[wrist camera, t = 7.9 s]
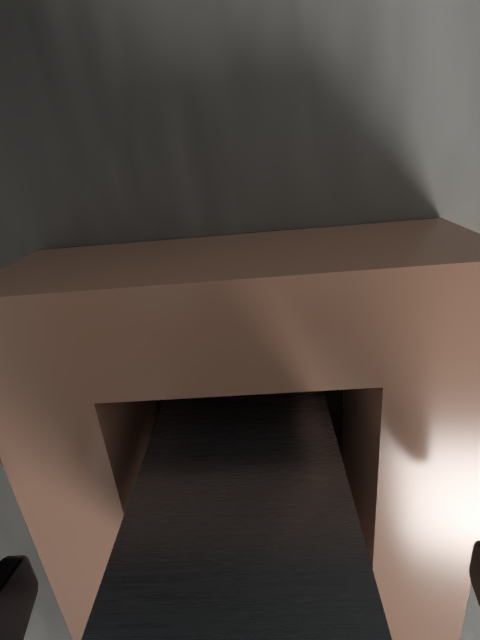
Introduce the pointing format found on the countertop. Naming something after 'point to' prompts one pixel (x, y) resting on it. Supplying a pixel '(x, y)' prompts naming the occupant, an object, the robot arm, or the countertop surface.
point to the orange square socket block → (253, 386)
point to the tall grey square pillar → (240, 530)
